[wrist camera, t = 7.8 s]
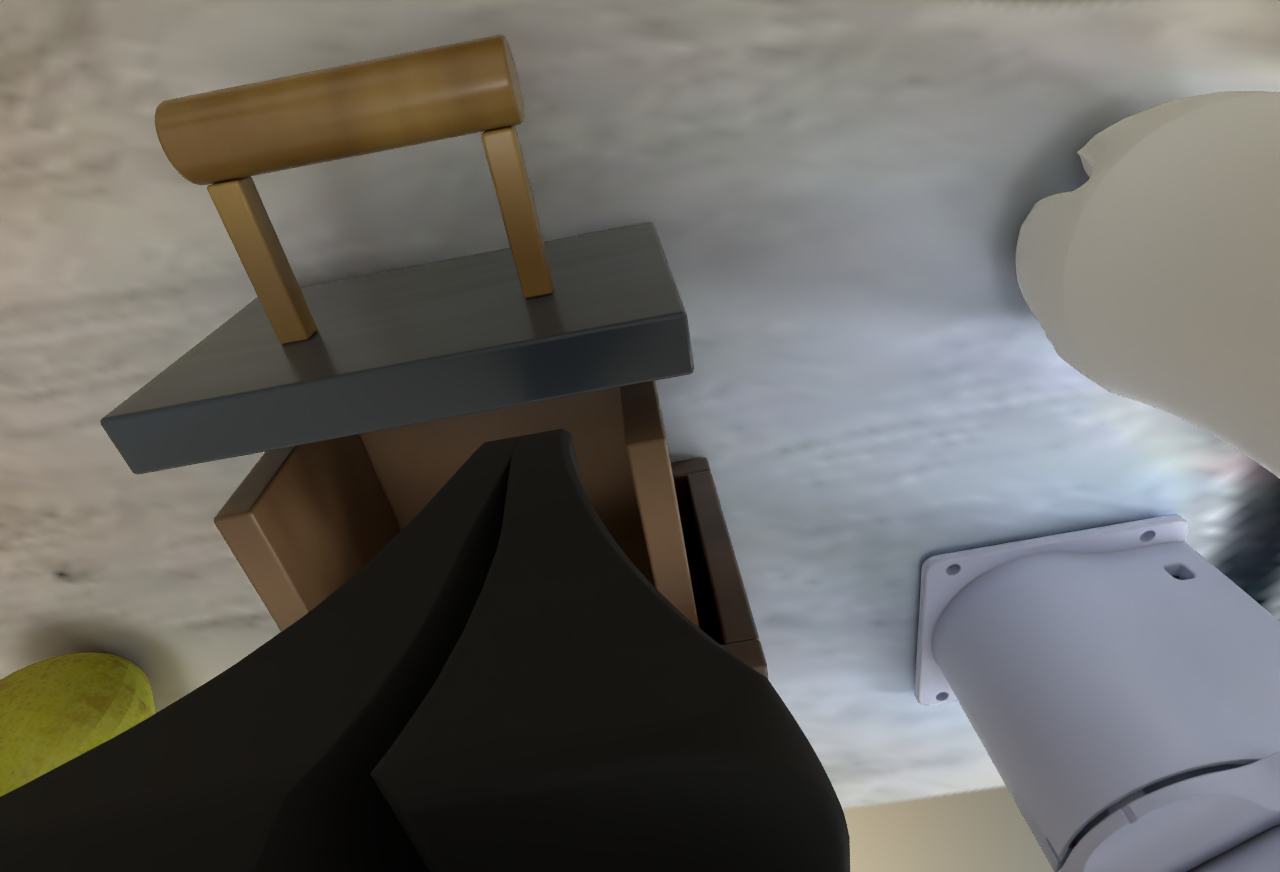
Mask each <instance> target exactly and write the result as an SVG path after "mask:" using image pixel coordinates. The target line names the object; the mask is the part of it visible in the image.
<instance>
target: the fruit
mask: <svg viewBox="0 0 1280 872" xmlns="http://www.w3.org/2000/svg"><path fill="white" fill-rule="evenodd" d="M154 714H156V712H155V705H154V700H153V694H152V689H151V686H150V683H149V681H148V678H147V675H146V674H145V673H144V672H143V671H142V670H141V669H140V668H139V667H138V666H137V665H135V664H134V663H132V662H131V661H129V660H127V659H125V658H123V657H120V656H117V655H112V654H107V653H73V654H67V655H62V656H57V657H53V658H50V659H47V660H44V661H41V662H38V663H35V664H32V665H30V666H27V667H25V668H23V669H20V670H18V671H16V672H14V673H12V674H10V675H8V676H7V677H5V678H3V679H1V680H0V797H1V796H3V795H5V794H7V793H9V792H11V791H13V790H15V789H17V788H19V787H21V786H23V785H24V784H26V783H28V782H30V781H32V780H34V779H36V778H38V777H40V776H42V775H43V774H45V773H47V772H49V771H51V770H53V769H55V768H57V767H59V766H60V765H62V764H64V763H66V762H68V761H70V760H72V759H74V758H76V757H78V756H79V755H81V754H83V753H85V752H87V751H89V750H91V749H93V748H95V747H97V746H98V745H100V744H102V743H104V742H106V741H108V740H110V739H112V738H114V737H115V736H117V735H119V734H121V733H123V732H124V731H126V730H128V729H130V728H131V727H133V726H135V725H137V724H138V723H140V722H142V721H144V720H146V719H147V718H149V717H151V716H152V715H154Z"/></svg>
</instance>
